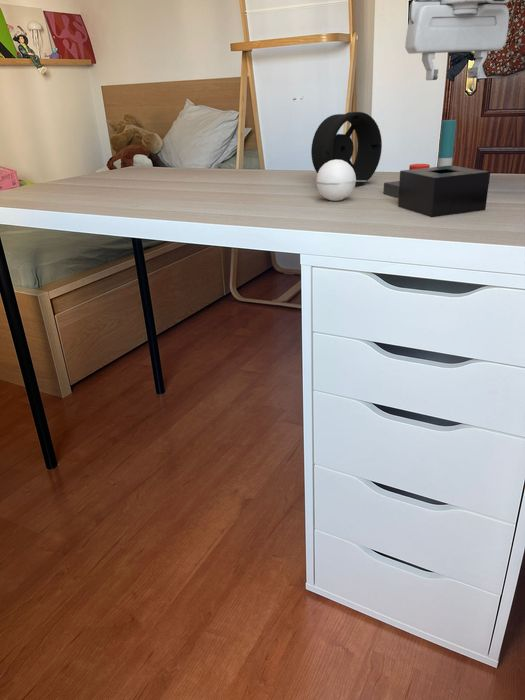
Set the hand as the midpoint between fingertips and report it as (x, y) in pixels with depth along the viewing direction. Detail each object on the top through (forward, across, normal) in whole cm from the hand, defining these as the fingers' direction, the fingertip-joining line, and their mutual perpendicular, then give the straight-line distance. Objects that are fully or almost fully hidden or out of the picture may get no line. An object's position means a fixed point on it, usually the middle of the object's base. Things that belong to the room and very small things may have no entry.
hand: (452, 79), depth 102 cm
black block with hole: (+19, -16, -22) cm, 33 cm away
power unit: (+19, -12, -9) cm, 24 cm away
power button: (+16, -12, -9) cm, 22 cm away
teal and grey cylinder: (+19, 0, 0) cm, 19 cm away
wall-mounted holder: (+20, -19, +10) cm, 29 cm away
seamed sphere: (+20, -27, -7) cm, 34 cm away
